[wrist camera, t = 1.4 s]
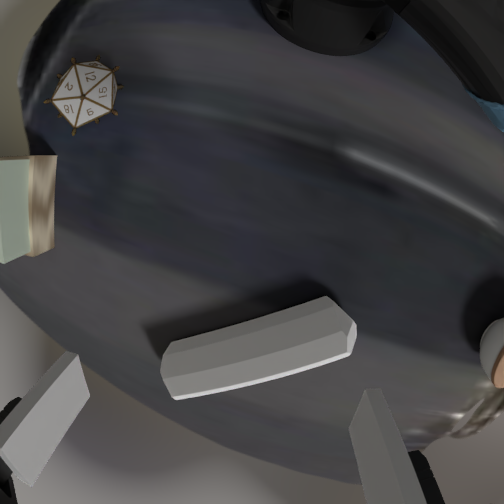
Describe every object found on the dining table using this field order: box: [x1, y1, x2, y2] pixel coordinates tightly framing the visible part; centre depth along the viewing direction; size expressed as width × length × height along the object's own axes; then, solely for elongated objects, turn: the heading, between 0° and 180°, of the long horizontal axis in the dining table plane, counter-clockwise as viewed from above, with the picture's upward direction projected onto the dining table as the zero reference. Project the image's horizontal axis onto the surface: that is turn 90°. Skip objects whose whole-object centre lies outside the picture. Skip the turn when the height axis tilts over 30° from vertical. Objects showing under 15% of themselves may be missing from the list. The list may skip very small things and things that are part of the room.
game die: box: [43, 55, 124, 136], centre depth 24 cm, size 9×8×10 cm
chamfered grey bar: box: [160, 296, 357, 400], centre depth 33 cm, size 7×7×24 cm
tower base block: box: [0, 155, 57, 257], centre depth 29 cm, size 12×12×5 cm
